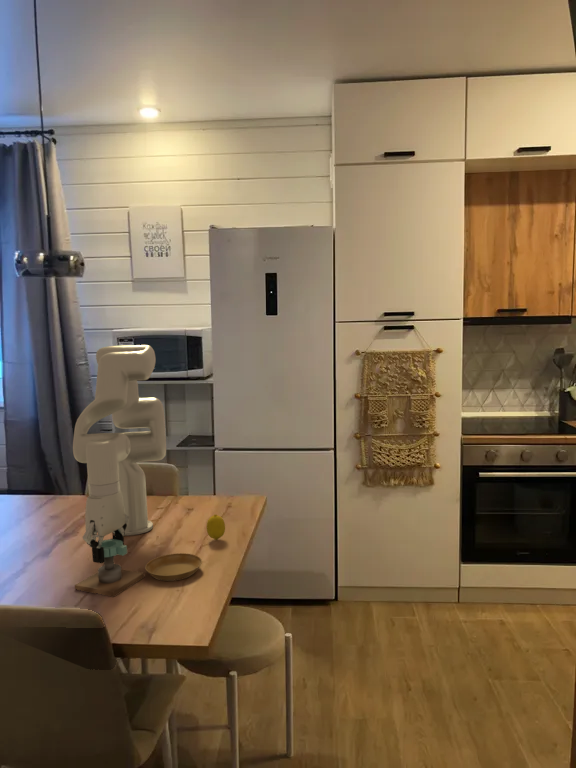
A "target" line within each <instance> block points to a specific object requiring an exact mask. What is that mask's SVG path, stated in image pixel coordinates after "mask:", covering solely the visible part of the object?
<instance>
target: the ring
mask: <svg viewBox="0 0 576 768" xmlns="http://www.w3.org/2000/svg"><path fill="white" fill-rule="evenodd" d="M101 547H103V548H104V557H112V556H114V557H115V556H126V555H127V554H128V545H125V544H124V545H123V542H122V541H121V540H117V539H113V538H110V539H109V538H108V539H103V542H102V546H101Z"/></svg>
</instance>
